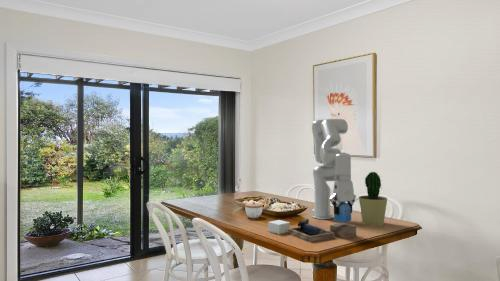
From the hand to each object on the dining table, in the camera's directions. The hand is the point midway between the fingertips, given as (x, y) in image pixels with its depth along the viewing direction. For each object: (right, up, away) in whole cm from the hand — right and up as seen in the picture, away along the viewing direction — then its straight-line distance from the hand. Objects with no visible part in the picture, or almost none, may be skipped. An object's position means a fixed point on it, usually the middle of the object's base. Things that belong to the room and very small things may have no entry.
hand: (343, 213), depth 182 cm
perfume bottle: (0, -4, 0) cm, 4 cm away
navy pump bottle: (-15, -12, +3) cm, 19 cm away
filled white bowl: (-44, -11, +44) cm, 63 cm away
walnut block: (0, -11, 0) cm, 11 cm away
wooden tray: (-16, -11, 0) cm, 20 cm away
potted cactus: (+23, -11, +26) cm, 37 cm away
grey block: (-31, -11, +9) cm, 35 cm away
